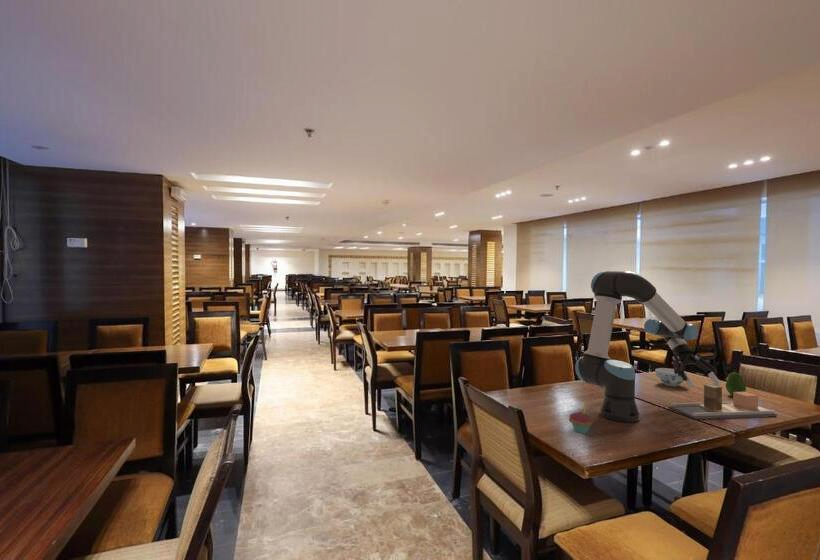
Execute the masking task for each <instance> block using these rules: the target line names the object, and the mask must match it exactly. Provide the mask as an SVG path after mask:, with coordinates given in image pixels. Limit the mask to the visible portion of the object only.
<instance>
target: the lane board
mask: <svg viewBox="0 0 820 560" xmlns="http://www.w3.org/2000/svg"><path fill="white" fill-rule="evenodd" d="M669 404H670V405H668V408H669V409H671V410H673V411H676V412H678V413H680V414H683V415H684V416H687V417H689V418H692V419H694V420H715V419H717V418H720V419H743V418H746V417H748V418H765V417H766V418H768V417H767V416H776V417H777V415H778V414H777V413H776V412H775V410H774V409H768V410H764V411H735V412H711V411H709V410H706V409H704V408H701V407H699V406H698V405H704V401H703V402H681V403H679V402H678V403H677V402H675V403H672V402H671V403H669ZM722 404H733V401H722Z"/></svg>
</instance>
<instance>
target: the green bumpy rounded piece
mask: <svg viewBox="0 0 820 560" xmlns="http://www.w3.org/2000/svg"><path fill="white" fill-rule="evenodd" d="M726 379H727V380H726V381H725V389H726V391H727V392H728V393H729V394H730V395H732V396H733V392H747V386H746V383H745V381H744V379H743V376H742V375H741V374H739V373H738V372H735V371H734V372H730V373H729V374H728V376H727V378H726Z"/></svg>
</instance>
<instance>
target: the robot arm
mask: <svg viewBox="0 0 820 560" xmlns="http://www.w3.org/2000/svg"><path fill="white" fill-rule="evenodd" d="M590 289H591V292H592V293H593V294H594V296H593V297H594V299H595V300H596V305H595V310H594V315H593V318H592V319H593V320H592V324H591V330H590V335H589V341H588V345H587V350H585V351H584V352H583V354H582V356H580V357H579V358H578V359H577V360H576V361H575V366H574V368H575V369H574V370H575V374H576V375H577V377H578V379H579V380H580V381H582V382H584V383H586V384H589V385H593V386H597V387H599V388H603V389H604V396H603V400H602V403H601V405H600V408H599V414H600V416H602V417H603V418H605V419H608V420H612V421H615V422H622V423H634V422H635V423H636V422H639V420H640V418H641V417H640V412H639V408H638V405H637V403H636V371H635V367H634V366H633V365H632V364H630V363H628V362H625V361H622V360H617V359H611V357H610V356H609V354H608V353H609V348H610V341H611V338H612V331H613V326H614V322H615V317H616V316H615V315H616V310H617V306H618V304H620V303H621V302H622V298H623V297H626V298H627V297H628V298H631V299H633V300H634V301H636V302H637V303H641V304H642V305H644V307H646V309H648V311H649V312H650V313H651V314H652V315H654V317H655V318H657V319H655V318H650V319H646V320H645V322H644V325H643V328H644V331H645V332H646V333H648V334H650V335H653V336H657V337H660V338H663V340H664V341H665V342H666V344H667V345H668V346H669V348H670V350H671V351H672V353H673V354H674V355H673V356H672V357H671V360H672V362H673V369H674V373H675V374H678V376H681V377H682V379H683V380H684V381H683V382H685V383H686V386H687V387H688V388H689V389H691V388H693V387H694V386H695V384H694V382H693V381H692V379H691V378H690V376H689V375H688V372H687V373H684V371H685V370H686V366H689V365H692V366H694V367H697V368H699V369H700V370H702V371H703V372H705V373H707V376H708V377H709V380H711V381H712V383H713V385H716V386H719V387H721V385H722V383H721V382H720V380H719V378H718V376H717V375H716V372H717V368H716V367H715V366H713V365H712V364H711V363H710V362H708V361H707V360H706V359H704V357H702V355H700V354H697V355H694V353H693V350H692V348H691V347H690V345H689V344H688V343H687V341H686V340H688V341H690V340H691V341H693V340H695V339H697V338H698V336H699V328H698V326H697V325H696V324H694V323H693V324H692V323H689V322H688V323H687V322H686V321H685V319H683V317H681V316H680V315H679V314H678V313H677V312H676V311H675V309H673V308H672V306H670V304H669V303H667V301H666V300H664V298H662V296H661V295H660V294H659V293H658V292H657V288H656V287H655V286H654V285H653V284H652V282H650V281H649V280H648V279H646V278H645V277H643V276H642V275H640V274H638V273H636V272H633V271H628V270H624V271H619V270H618V271H616V270H613V271H611V270H609V271H608V270H607V271H601V272H598V273H596V274H594V276H592V279H591V282H590Z"/></svg>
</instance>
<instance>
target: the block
mask: <svg viewBox="0 0 820 560" xmlns="http://www.w3.org/2000/svg"><path fill="white" fill-rule="evenodd" d="M732 396H733V397H732V400H733V401H732V402H733V405H734V406H737V407H740V408H743V409H758V406H759V395H758V394H754V393H752V392H751V393H750V392H747V391H745V392H733V395H732Z"/></svg>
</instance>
